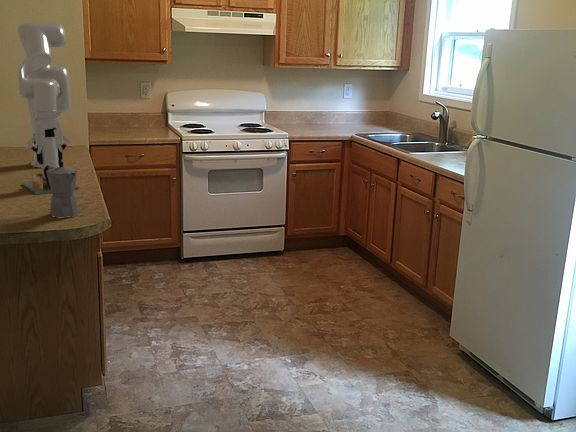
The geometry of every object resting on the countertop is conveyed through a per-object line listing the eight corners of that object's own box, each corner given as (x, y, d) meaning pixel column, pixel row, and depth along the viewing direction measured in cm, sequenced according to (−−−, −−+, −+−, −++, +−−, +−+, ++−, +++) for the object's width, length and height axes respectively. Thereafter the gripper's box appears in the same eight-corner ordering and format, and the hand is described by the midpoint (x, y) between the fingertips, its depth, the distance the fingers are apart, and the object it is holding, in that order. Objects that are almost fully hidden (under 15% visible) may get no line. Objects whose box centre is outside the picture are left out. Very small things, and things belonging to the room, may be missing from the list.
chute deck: (22, 184, 244) (21, 172, 243) (64, 179, 254) (63, 167, 252) (35, 194, 231) (34, 181, 230) (78, 189, 241) (77, 176, 239)
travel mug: (55, 182, 237) (51, 129, 231) (39, 180, 238) (34, 127, 232) (64, 178, 243) (60, 126, 237) (48, 176, 244) (44, 125, 238)
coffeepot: (89, 215, 210) (86, 162, 205) (66, 221, 203) (62, 167, 197) (59, 206, 218) (55, 155, 213) (35, 212, 211) (31, 160, 205)
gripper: (66, 112, 241) (69, 158, 246) (19, 115, 231) (23, 163, 236) (73, 115, 235) (76, 162, 240) (24, 117, 225) (29, 167, 230)
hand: (50, 162), depth 238 cm, fingers closed on travel mug, 6 cm apart
